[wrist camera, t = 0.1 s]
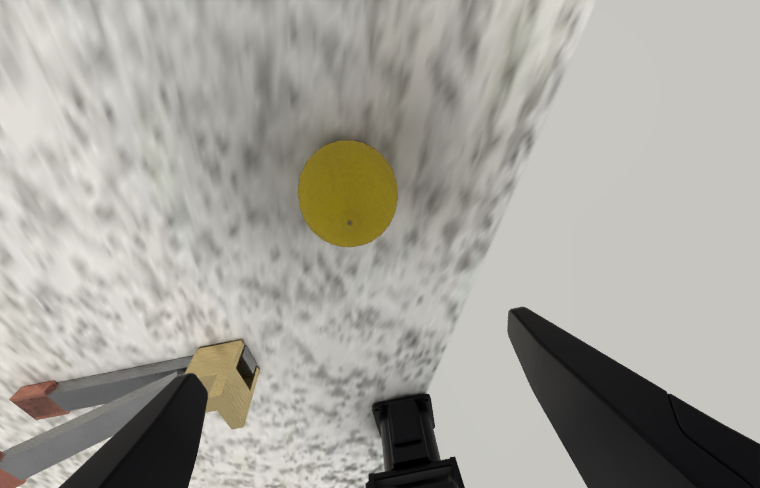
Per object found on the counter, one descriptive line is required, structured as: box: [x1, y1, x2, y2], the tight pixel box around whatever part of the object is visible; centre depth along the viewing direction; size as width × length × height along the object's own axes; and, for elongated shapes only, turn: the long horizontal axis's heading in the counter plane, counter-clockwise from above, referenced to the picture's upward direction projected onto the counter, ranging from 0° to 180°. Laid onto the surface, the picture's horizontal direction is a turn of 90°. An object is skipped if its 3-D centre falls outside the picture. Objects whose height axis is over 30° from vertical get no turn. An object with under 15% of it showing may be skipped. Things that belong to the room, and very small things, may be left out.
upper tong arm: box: [0, 371, 184, 488], centre depth 25 cm, size 16×3×1 cm, turn 100°
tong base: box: [9, 345, 256, 420], centre depth 28 cm, size 20×3×1 cm, turn 100°
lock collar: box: [185, 340, 259, 429], centre depth 26 cm, size 4×4×5 cm
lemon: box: [298, 140, 398, 247], centre depth 18 cm, size 6×6×8 cm
